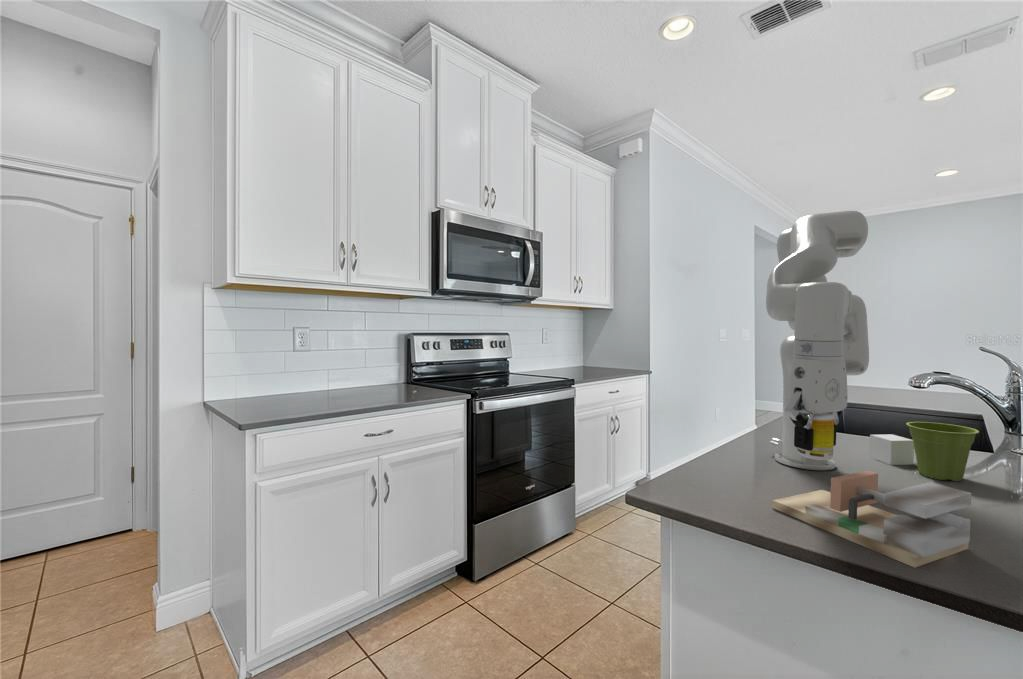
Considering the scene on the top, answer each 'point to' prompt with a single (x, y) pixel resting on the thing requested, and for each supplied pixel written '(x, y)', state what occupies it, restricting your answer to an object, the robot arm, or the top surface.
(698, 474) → the top surface
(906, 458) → the white cube
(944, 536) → the frame
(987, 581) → the top surface
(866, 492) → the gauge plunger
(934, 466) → the plant pot
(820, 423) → the supplement bottle
